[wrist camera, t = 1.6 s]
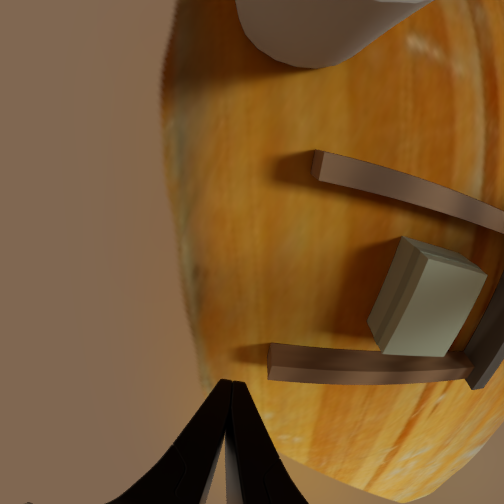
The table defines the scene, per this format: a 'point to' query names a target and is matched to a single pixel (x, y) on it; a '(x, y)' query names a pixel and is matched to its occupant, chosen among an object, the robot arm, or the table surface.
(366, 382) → the bay
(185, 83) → the table surface
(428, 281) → the block
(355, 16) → the can
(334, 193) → the table surface
